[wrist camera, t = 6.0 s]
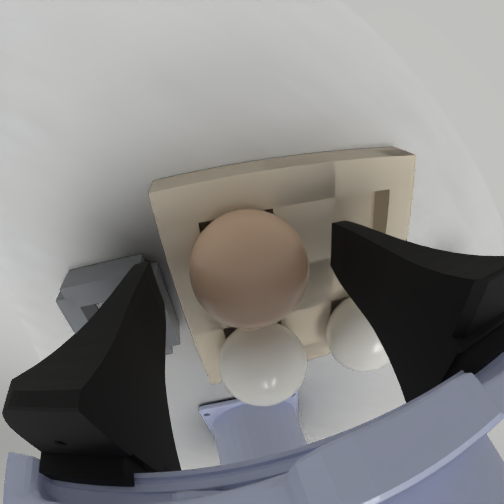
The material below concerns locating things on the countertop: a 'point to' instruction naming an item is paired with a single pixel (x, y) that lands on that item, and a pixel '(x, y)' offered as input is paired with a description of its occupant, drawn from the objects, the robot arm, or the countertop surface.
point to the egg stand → (108, 294)
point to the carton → (295, 214)
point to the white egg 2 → (354, 339)
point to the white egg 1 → (262, 364)
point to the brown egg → (249, 269)
